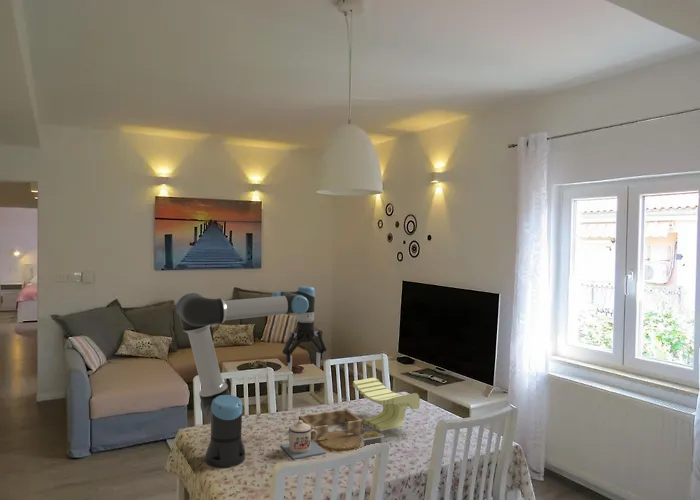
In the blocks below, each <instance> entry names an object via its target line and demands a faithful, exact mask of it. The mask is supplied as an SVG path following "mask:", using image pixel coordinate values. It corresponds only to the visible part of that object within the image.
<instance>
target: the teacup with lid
mask: <svg viewBox="0 0 700 500" xmlns="http://www.w3.org/2000/svg"><path fill="white" fill-rule="evenodd" d="M288 429H289V430H288V431H289V434H288V435H289V442H288V444H289V450H290V451H292V452H294V453H304V452H307V451H309V450H310V442H312V441H314V440H315V439H316V437H317V431H316V430H314V429H311V426H310V425H308V424H305V423H303V421H302V420H299V419H298V421H297V422H295V423H293V424H291V425H290V426H289V428H288ZM311 432H315V436H314V438H313V439H311V440H310V438H311Z"/></svg>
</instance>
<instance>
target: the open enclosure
mask: <svg viewBox="0 0 700 500" xmlns="http://www.w3.org/2000/svg"><path fill="white" fill-rule="evenodd" d="M299 420H302V421H303V423H305V424H308V425H310V426H311V429H314V430H316V431H317V437H316V439H315V440H314V442H315V443H317V442H318V441H317V439H318V438H320V437H322V436H325V435H328V436H329V426H332V425H333V426H334V425H340V424H346V425H347V429H346V430H347V431H346V433H347V432H348V433H353V434H357V435H364V434H363V433H364V423H363V421H364V419H363V418H360V417H359V416H357V415H356V414H355V413H353V412H351V411H350V410H348V409H345V408H344V409H338V410H332V411H330V410H329V411H325V412H318V413H309V414H304V415H303V414H302V415H298V421H299ZM357 435H356V436H357ZM314 436H315V432H311V438H310V440H311V439H313V438H314ZM316 441H317V442H316Z"/></svg>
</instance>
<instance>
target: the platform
mask: <svg viewBox="0 0 700 500" xmlns="http://www.w3.org/2000/svg"><path fill="white" fill-rule="evenodd" d="M363 433H364V434H361V440H363V447H364V446H366V445H370V444H375V443H381V444H382V438H384V437H385V435H384V434H383V433H379V431H376V430H372V431H371V430H370V431H365V432H364V431H363Z"/></svg>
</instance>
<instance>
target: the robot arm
mask: <svg viewBox="0 0 700 500" xmlns="http://www.w3.org/2000/svg"><path fill="white" fill-rule="evenodd" d="M315 299H316V289H315V288H314V287H313V286H309V285H307V286H306V285H301V286H298V287H297V290H296V291H274V292H273V293H272V294H271V296H269V297H268V296H266V297H255V298H242V299H230V300H229V299H227V300H223V299H222V298H221V297H220V298H209V297H204V296H202V294H199V293H195V292H189V293H185V294H184V295H182V296H181V297H180V298H179V299H178V301H177V302H176V306H175V312H176V314H177V316H178V318H179V320H180V324H181V329H182V331H183V332H184V333H186V334H187V336H188V339H189V343H190V347H191V352H192V355H193V359H194V363H195V367H196V370H197V375H198V379H199V383H200V387H201V389H200V391H199V392H198V394H199V395H198V396H199V399H200V409H201V412H202V414H203V415H204V416H205V418H206V419H207V420H208V421H209V423H210V441H209V444H208V446H207V450H206V451H205V457H204V458H205V463H206V464H207V465H209V466H211V467H215V468H230V467H235V466H237V465H240V464H242V463H243V462H245V460H246V450H245V447H244V442H243V440H242V425H243V420H242V419H243V401H242V400H241V399H240V398H239V397H238V396H236V395H232V394H231V393H230V390H229V385H228V383H226V382H224V381H223V377H222V374H221V370H220V365H219V362H218V357H217V354H216V349H215V345H214V341H213V338H212V332H211V326H213V325H219V324H223V323H225V322H226V321H231V320H232V321H233V320H240V319H249V318H258V317H259V318H260V317H269V316H277V315H278V316H279V315H288V314H289V315H290V314H295V315H297V317H296V320H297V323H296V332H290V333H289V337H288V339H287V341H286V343H285V345H284V347H283V349H282V354H283V355H285V357H286V358H285V359H286V360H285V361H286V363H287V370H288V371H290V372H291V371H293V355H292V354H293V353H294V351H295V350H296V349H297V347H298V346H299V345H300V344H301V343H309V342H310V343H311V344H312V345H313V347H314V348H315V349H316V351H317V352H316V354H315V355H316V357H315V359H316V363H315V366H316V368H318V369H319V368H321V361H322V359H323V354H324V352H326V351H327V348H326V346H325V343H324V340H323V338H322V337H321V336H322V335H321V331H319V330H315V328H314V327H315V321H314V320H315V304H316V302H315ZM314 336H315V338H316V339H317V341H316V340H315V339H314ZM295 338H296V339H295ZM294 339H295V341H294ZM317 342H318V343H317Z"/></svg>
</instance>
